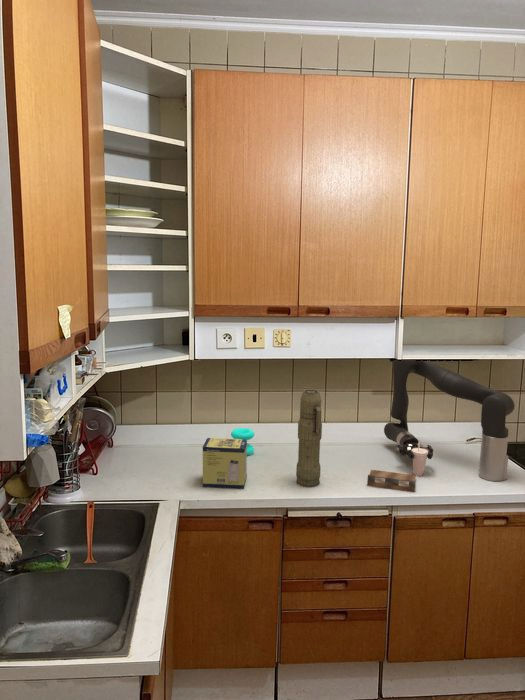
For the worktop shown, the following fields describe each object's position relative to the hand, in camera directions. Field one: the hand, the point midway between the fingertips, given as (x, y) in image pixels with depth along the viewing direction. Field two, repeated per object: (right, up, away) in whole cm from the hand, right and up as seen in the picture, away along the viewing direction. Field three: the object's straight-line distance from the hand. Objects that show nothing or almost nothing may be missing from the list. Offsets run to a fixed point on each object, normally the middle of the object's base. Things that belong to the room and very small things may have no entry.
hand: (421, 456), depth 208 cm
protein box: (-76, -8, -9) cm, 77 cm away
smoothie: (0, -8, +4) cm, 9 cm away
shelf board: (-13, -9, -5) cm, 16 cm away
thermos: (-45, -8, -7) cm, 46 cm away
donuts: (-70, -3, +23) cm, 74 cm away
